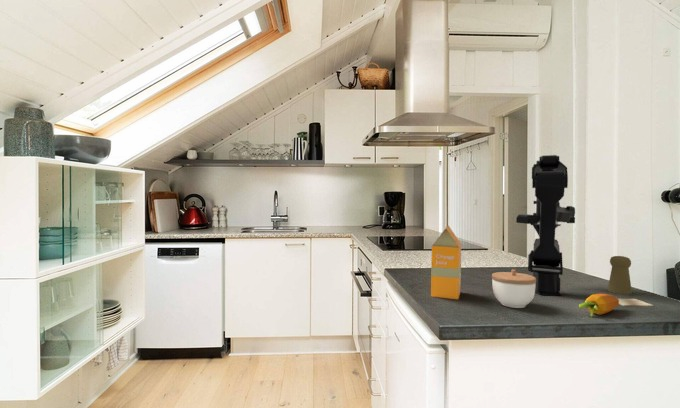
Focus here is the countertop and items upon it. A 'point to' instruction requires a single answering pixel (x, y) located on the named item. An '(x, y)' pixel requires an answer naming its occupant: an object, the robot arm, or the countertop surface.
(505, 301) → the lidded jar
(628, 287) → the cork
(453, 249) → the orange juice
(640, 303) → the beige rectangular sheet
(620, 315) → the countertop surface
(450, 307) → the countertop surface
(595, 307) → the carrot
